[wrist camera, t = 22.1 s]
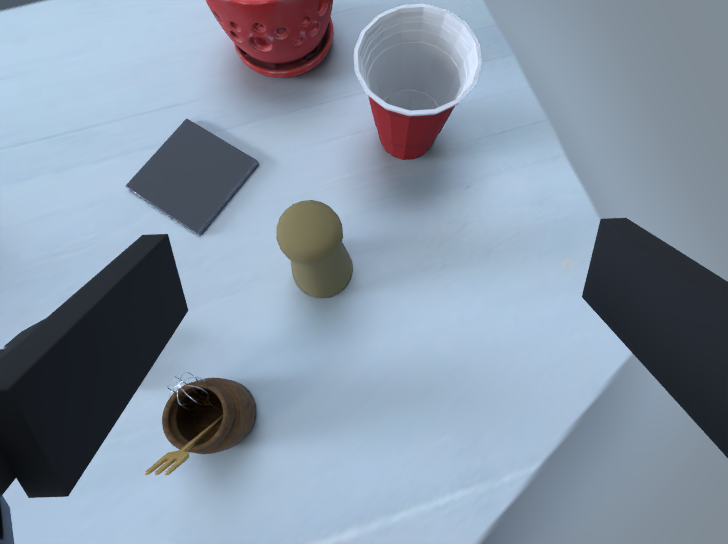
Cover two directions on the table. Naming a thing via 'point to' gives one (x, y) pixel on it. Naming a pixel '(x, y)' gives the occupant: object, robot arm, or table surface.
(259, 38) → the flower pot
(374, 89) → the plastic cup
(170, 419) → the utensil holder
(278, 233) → the cork
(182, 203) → the slate coaster
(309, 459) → the table surface
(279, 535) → the table surface
